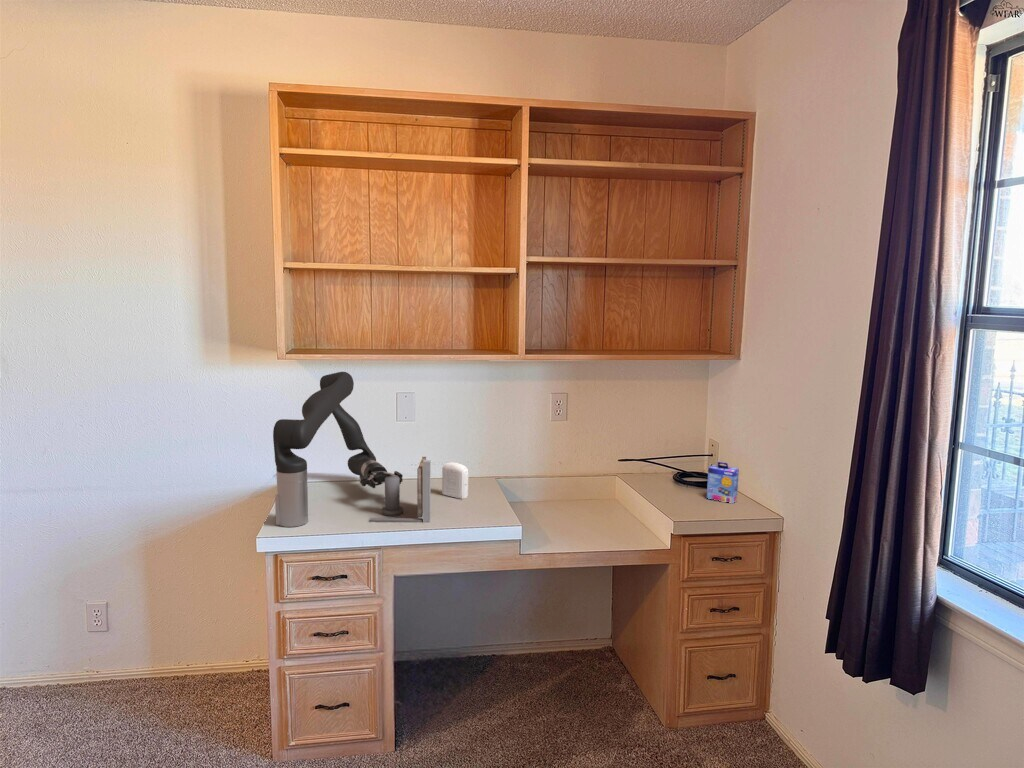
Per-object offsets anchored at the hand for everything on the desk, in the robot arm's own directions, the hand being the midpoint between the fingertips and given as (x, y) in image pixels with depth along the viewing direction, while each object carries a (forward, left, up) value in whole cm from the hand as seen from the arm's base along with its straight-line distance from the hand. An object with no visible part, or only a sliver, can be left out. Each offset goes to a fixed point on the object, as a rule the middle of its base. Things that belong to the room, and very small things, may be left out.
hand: (386, 483), depth 238 cm
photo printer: (+23, +15, -9) cm, 28 cm away
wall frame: (+6, -13, -8) cm, 17 cm away
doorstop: (+3, -5, -8) cm, 10 cm away
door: (+13, -6, -7) cm, 16 cm away
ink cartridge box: (+120, +12, -9) cm, 120 cm away
